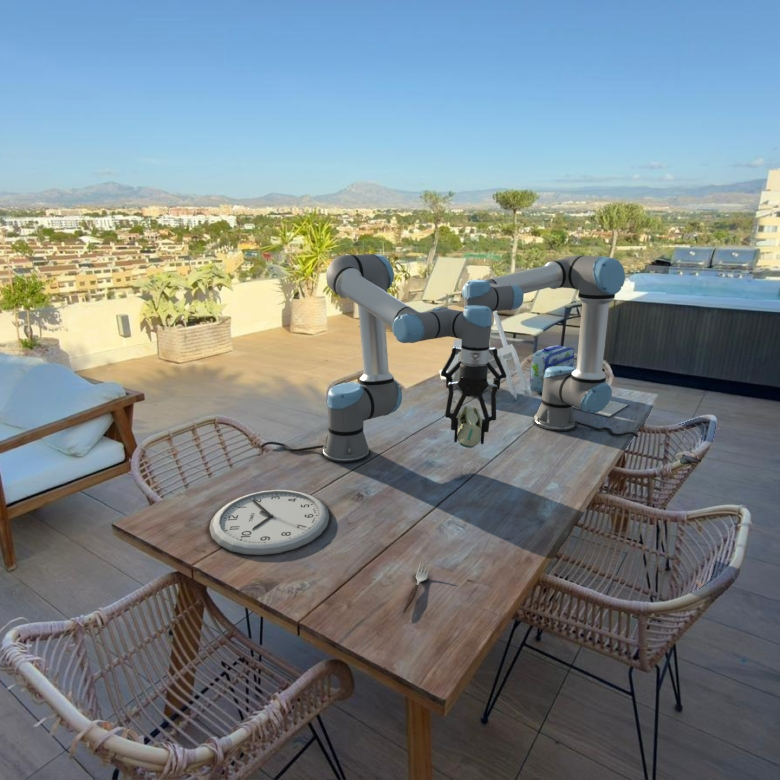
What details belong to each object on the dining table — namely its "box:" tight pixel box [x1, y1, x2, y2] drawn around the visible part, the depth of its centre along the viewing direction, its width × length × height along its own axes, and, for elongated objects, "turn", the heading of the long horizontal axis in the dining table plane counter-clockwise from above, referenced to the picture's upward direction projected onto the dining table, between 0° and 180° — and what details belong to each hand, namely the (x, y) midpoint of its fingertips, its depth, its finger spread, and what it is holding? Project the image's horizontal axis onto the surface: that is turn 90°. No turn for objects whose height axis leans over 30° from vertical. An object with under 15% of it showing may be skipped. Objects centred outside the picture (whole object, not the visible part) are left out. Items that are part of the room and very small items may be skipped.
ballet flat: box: [456, 405, 483, 449], centre depth 156 cm, size 8×25×8 cm, turn 175°
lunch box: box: [529, 345, 575, 394], centre depth 245 cm, size 26×11×21 cm, turn 134°
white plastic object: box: [438, 311, 531, 400], centre depth 245 cm, size 37×45×31 cm
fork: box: [402, 559, 432, 614], centre depth 109 cm, size 3×16×2 cm, turn 160°
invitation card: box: [573, 400, 629, 418], centre depth 226 cm, size 21×1×15 cm
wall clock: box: [209, 489, 330, 556], centre depth 135 cm, size 30×2×30 cm
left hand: (468, 441), depth 149 cm, fingers closed on ballet flat, 7 cm apart
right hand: (472, 398), depth 166 cm, fingers open, 13 cm apart
